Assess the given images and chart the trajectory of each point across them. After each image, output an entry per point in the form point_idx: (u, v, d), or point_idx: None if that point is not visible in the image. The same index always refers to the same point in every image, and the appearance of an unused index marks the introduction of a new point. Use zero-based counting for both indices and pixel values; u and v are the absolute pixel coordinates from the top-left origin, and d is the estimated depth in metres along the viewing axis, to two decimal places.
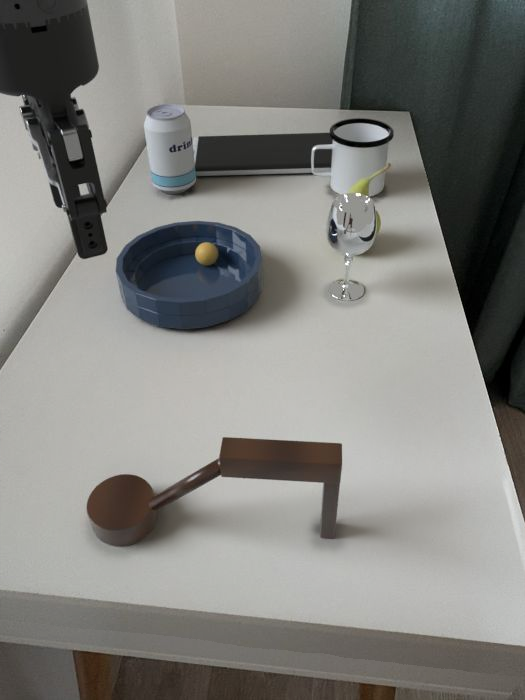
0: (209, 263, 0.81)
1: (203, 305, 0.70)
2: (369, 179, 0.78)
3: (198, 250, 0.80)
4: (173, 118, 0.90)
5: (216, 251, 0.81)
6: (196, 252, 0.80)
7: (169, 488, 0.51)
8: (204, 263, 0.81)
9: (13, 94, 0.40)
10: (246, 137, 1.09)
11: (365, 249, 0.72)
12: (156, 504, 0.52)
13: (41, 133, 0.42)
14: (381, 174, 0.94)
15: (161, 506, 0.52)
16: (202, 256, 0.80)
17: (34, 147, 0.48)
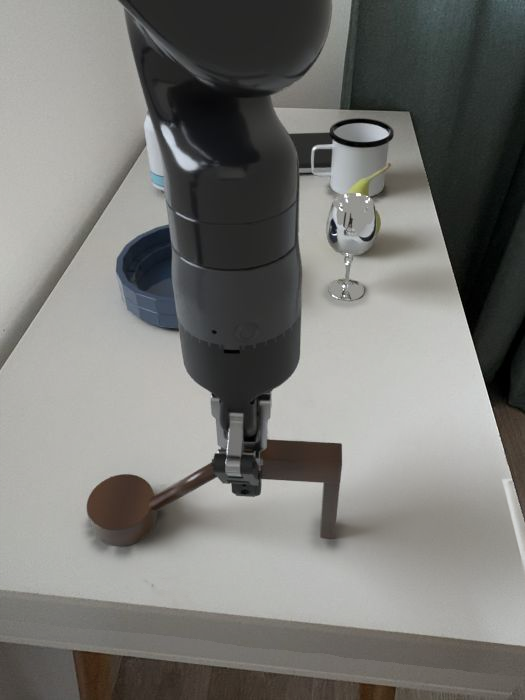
0: None
1: None
2: (369, 179, 0.78)
3: None
4: None
5: None
6: None
7: (169, 488, 0.51)
8: None
9: None
10: None
11: (365, 249, 0.72)
12: (156, 504, 0.52)
13: None
14: (381, 174, 0.94)
15: (161, 506, 0.52)
16: None
17: None
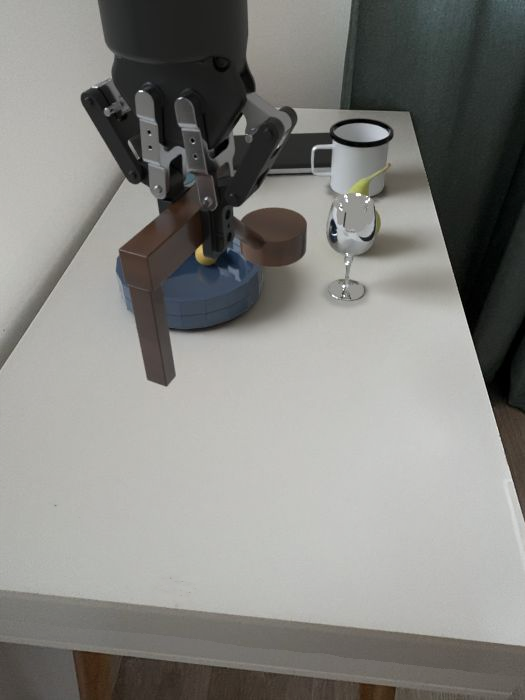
0: (209, 263, 0.81)
1: (203, 305, 0.70)
2: (369, 179, 0.78)
3: (198, 250, 0.80)
4: None
5: None
6: (196, 252, 0.80)
7: None
8: (204, 263, 0.81)
9: None
10: None
11: (365, 249, 0.72)
12: None
13: None
14: (381, 174, 0.94)
15: None
16: (202, 256, 0.80)
17: None
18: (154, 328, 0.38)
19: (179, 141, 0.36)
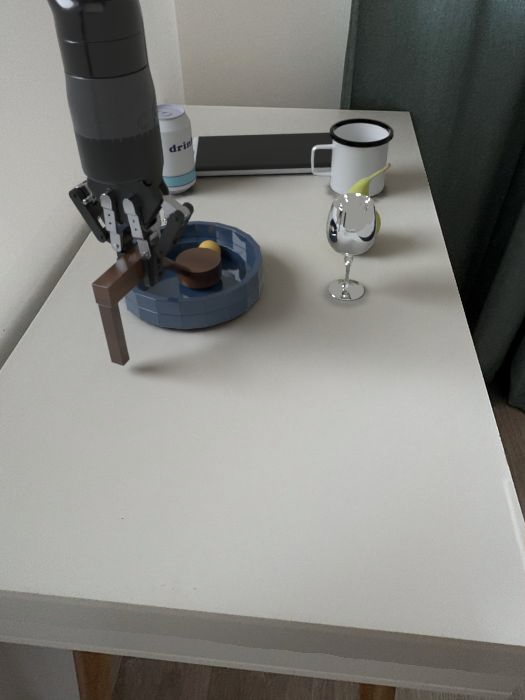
0: None
1: (203, 305, 0.70)
2: (369, 179, 0.78)
3: (202, 245, 0.81)
4: (173, 118, 0.90)
5: (219, 249, 0.81)
6: None
7: (178, 263, 0.73)
8: None
9: None
10: (246, 137, 1.09)
11: (365, 249, 0.72)
12: None
13: None
14: (381, 174, 0.94)
15: None
16: None
17: None
18: (114, 329, 0.63)
19: (127, 220, 0.61)
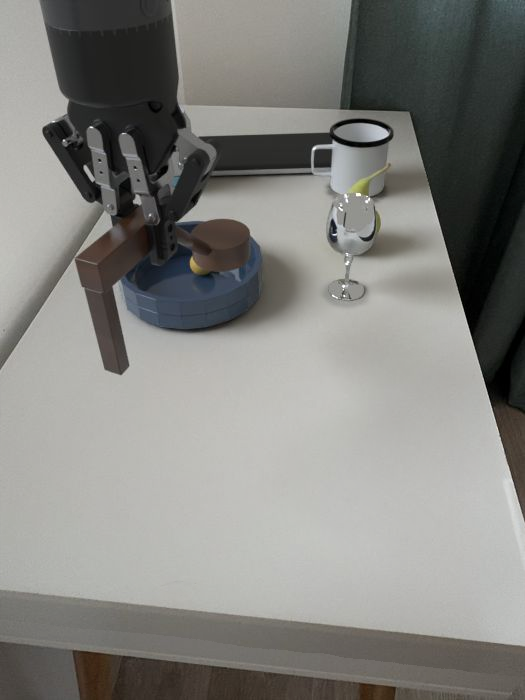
0: None
1: (203, 305, 0.70)
2: (369, 179, 0.78)
3: (193, 271, 0.79)
4: None
5: None
6: None
7: (195, 236, 0.54)
8: None
9: None
10: (246, 137, 1.09)
11: (365, 249, 0.72)
12: None
13: None
14: (381, 174, 0.94)
15: None
16: None
17: None
18: (107, 324, 0.45)
19: (125, 167, 0.43)
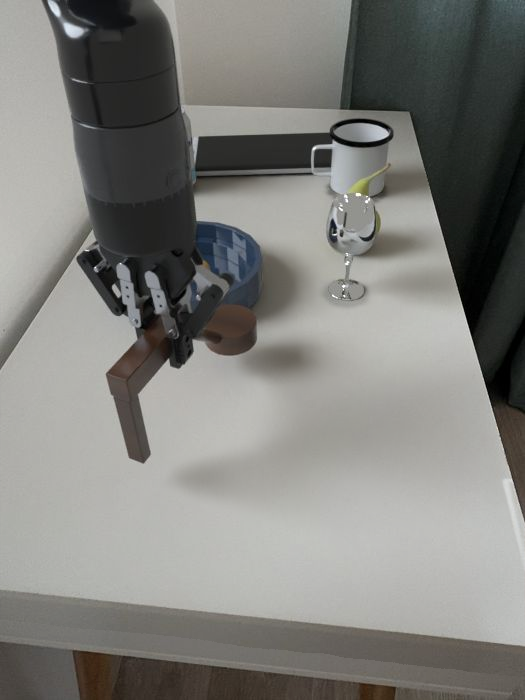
0: None
1: None
2: (369, 179, 0.78)
3: None
4: None
5: None
6: None
7: (208, 330, 0.61)
8: None
9: None
10: (246, 137, 1.09)
11: (365, 249, 0.72)
12: None
13: None
14: (381, 174, 0.94)
15: None
16: None
17: None
18: (133, 424, 0.51)
19: (149, 293, 0.49)
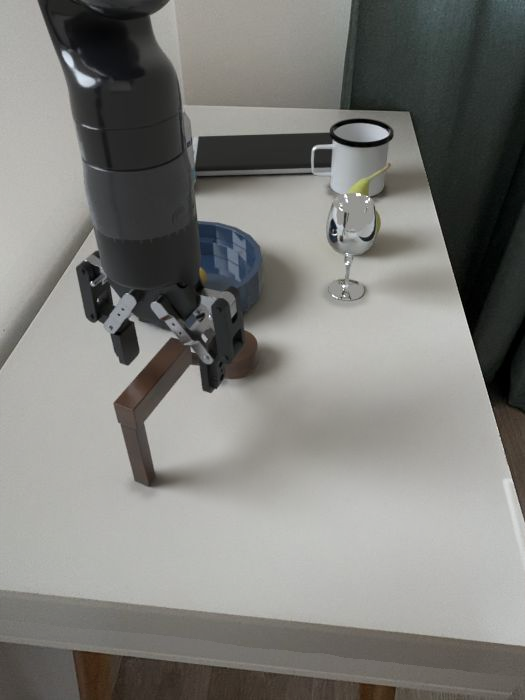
0: None
1: None
2: (369, 179, 0.78)
3: None
4: None
5: None
6: None
7: None
8: None
9: None
10: (246, 137, 1.09)
11: (365, 249, 0.72)
12: None
13: None
14: (381, 174, 0.94)
15: None
16: None
17: None
18: (139, 450, 0.53)
19: (154, 321, 0.51)
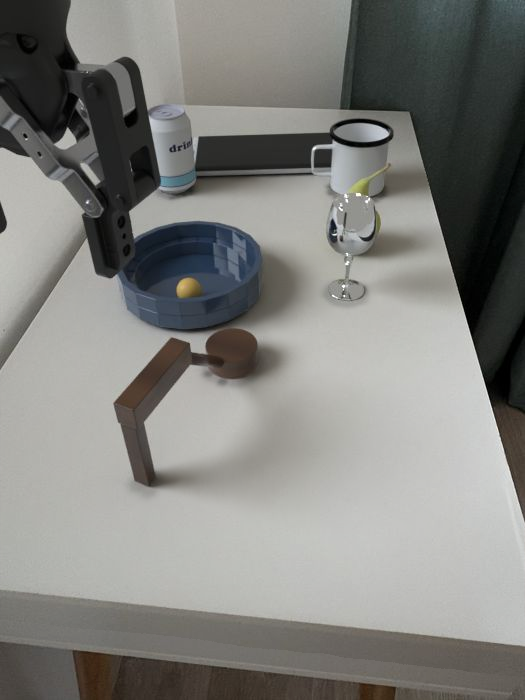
0: (188, 293, 0.74)
1: (203, 305, 0.70)
2: (369, 179, 0.78)
3: None
4: (173, 118, 0.90)
5: (200, 287, 0.75)
6: (179, 282, 0.75)
7: (210, 355, 0.63)
8: (183, 292, 0.74)
9: None
10: (246, 137, 1.09)
11: (365, 249, 0.72)
12: None
13: None
14: (381, 174, 0.94)
15: None
16: (184, 283, 0.74)
17: None
18: (139, 450, 0.53)
19: (1, 141, 0.29)
